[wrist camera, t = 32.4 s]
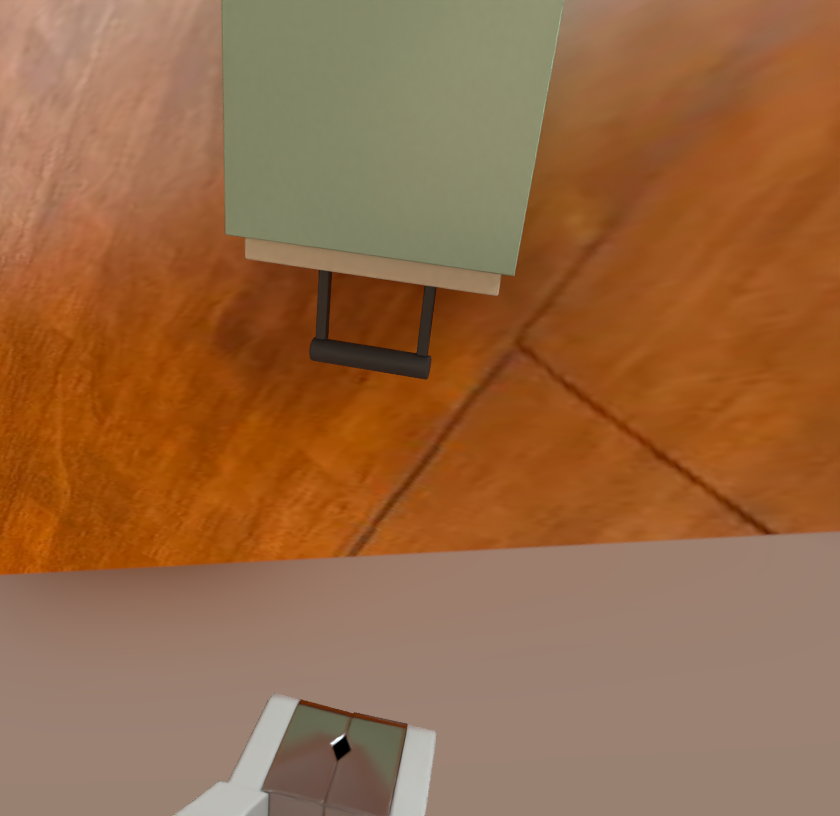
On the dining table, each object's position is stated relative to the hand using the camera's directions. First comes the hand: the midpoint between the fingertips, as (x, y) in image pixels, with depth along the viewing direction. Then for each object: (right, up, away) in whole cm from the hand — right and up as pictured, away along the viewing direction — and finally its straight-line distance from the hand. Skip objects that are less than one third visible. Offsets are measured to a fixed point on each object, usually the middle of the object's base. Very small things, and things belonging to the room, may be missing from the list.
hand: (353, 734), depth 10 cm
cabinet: (+1, +24, +22) cm, 33 cm away
